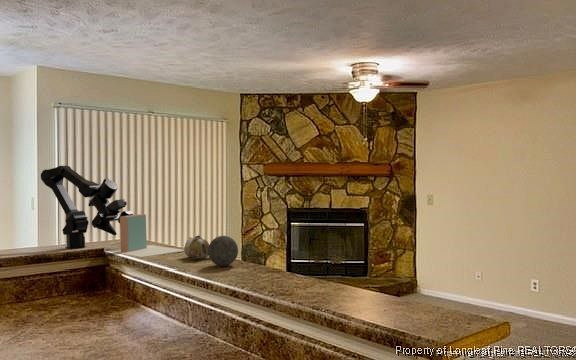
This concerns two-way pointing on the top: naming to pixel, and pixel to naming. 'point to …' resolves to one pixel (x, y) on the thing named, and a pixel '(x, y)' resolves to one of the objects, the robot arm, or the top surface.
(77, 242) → the robot arm
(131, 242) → the tile
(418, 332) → the top surface
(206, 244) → the ceramic sculpture
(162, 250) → the mat
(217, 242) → the decorative ball
